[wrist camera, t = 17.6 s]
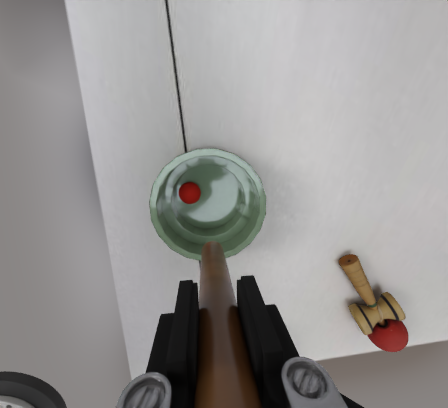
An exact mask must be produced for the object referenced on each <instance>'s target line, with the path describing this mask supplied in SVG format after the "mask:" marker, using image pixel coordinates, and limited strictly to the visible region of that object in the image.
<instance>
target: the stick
mask: <svg viewBox="0 0 448 408" xmlns="http://www.w3.org/2000/svg"><path fill="white" fill-rule="evenodd" d="M194 408H263V407H262V403H261V399H260V395H259V391H258V387H257V384H256V380H255V376H254V372H253V368H252V364H251V360H250V356H249V352H248V348H247V344H246V340H245V336H244V332H243V328H242V324H241V320H240V316H239V312H238V308H237V303H236V299H235V295H234V291H233V287H232V283H231V279H230V275H229V271H228V267H227V263H226V259H225V255H224V251H223V247H222V246H221V244H220V243H218V242H216V241H209V242H207V243H205V244H204V246H203V247H202V250H201V270H200V290H199V324H198V347H197V371H196V390H195V395H194Z"/></svg>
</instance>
